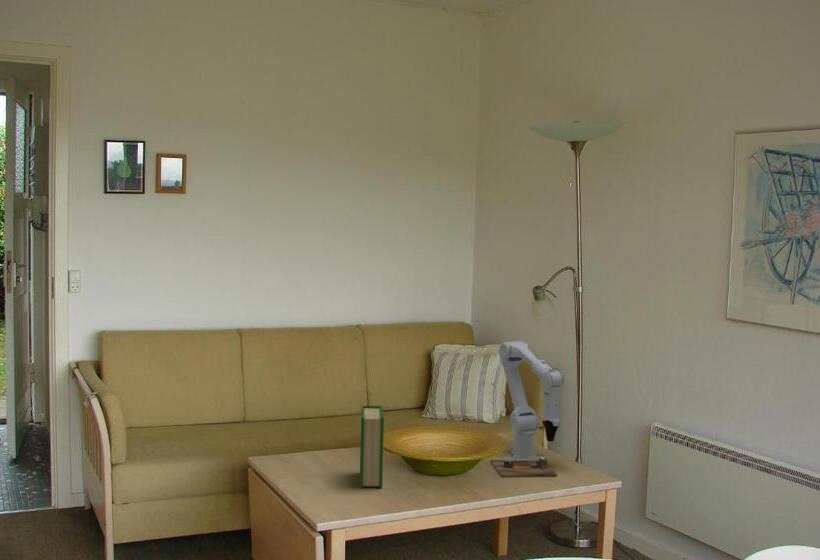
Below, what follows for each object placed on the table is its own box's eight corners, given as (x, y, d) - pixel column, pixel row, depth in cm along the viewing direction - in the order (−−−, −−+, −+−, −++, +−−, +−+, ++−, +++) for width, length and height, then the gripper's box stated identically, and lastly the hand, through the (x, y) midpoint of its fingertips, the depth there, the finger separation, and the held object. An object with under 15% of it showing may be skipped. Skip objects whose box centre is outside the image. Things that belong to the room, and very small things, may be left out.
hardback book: (382, 488, 298) (383, 417, 296) (359, 488, 298) (361, 417, 296) (380, 473, 316) (382, 405, 314) (359, 472, 315) (361, 405, 313)
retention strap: (502, 459, 325) (502, 455, 325) (542, 458, 327) (542, 455, 327) (505, 462, 321) (505, 458, 321) (544, 461, 323) (545, 458, 323)
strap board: (490, 462, 332) (490, 450, 332) (542, 462, 334) (543, 450, 334) (501, 477, 314) (501, 464, 314) (556, 476, 317) (557, 464, 316)
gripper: (535, 400, 334) (534, 435, 336) (546, 408, 320) (544, 446, 321) (554, 400, 335) (552, 435, 336) (565, 408, 321) (564, 446, 322)
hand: (550, 440), depth 329 cm, fingers closed
